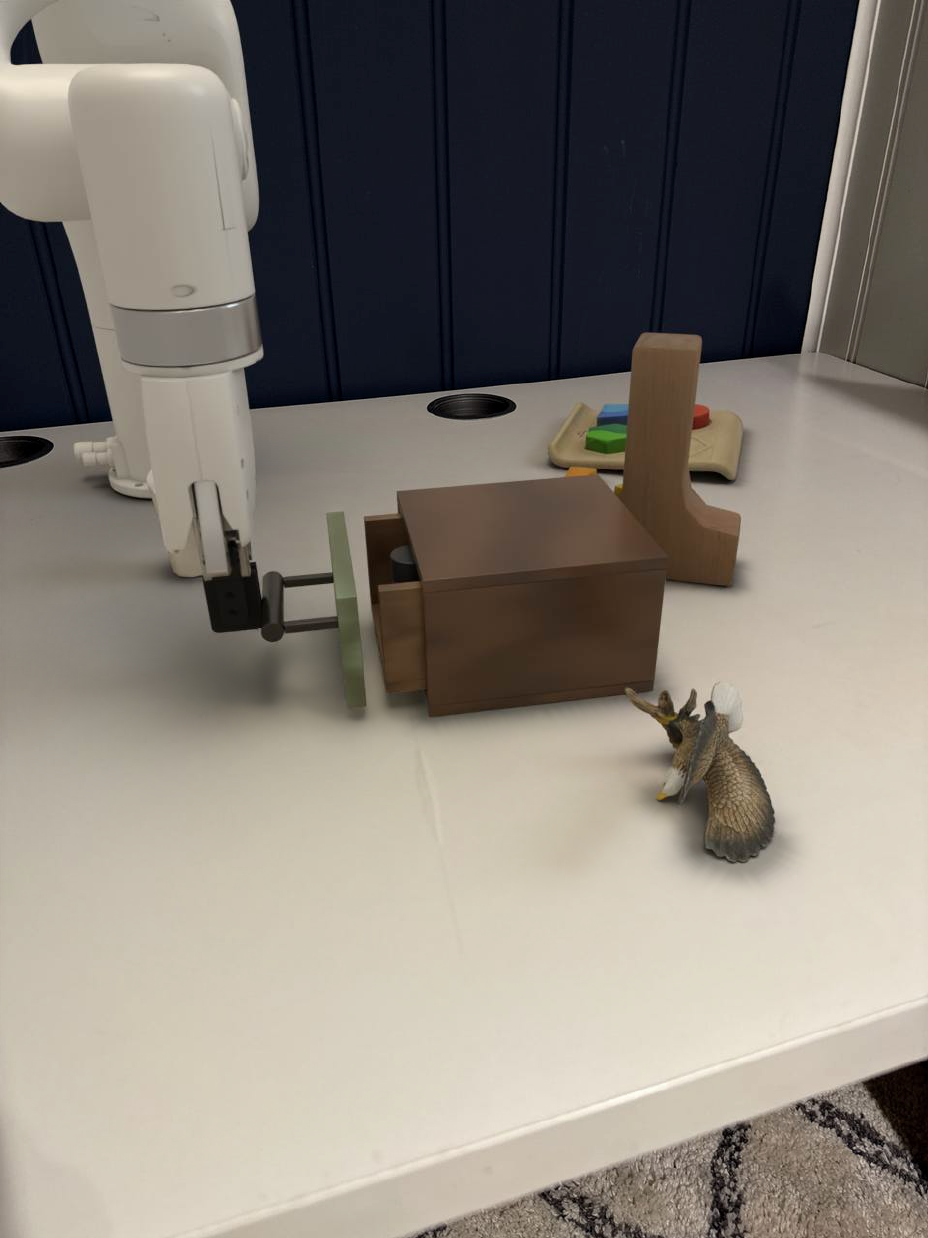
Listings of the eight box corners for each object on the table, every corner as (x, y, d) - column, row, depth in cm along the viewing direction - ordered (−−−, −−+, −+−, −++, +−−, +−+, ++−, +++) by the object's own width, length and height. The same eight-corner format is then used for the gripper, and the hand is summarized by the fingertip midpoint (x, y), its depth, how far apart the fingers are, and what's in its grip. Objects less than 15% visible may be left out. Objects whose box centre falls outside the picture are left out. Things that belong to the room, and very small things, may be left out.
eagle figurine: (586, 746, 51) (647, 833, 43) (653, 640, 50) (729, 708, 41) (689, 793, 53) (766, 884, 45) (755, 694, 52) (847, 768, 44)
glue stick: (397, 646, 59) (392, 564, 56) (393, 625, 61) (387, 546, 58) (438, 641, 59) (435, 560, 56) (432, 621, 62) (429, 542, 59)
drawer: (269, 718, 54) (251, 606, 50) (271, 617, 65) (256, 518, 61) (560, 684, 57) (565, 575, 53) (516, 592, 67) (517, 495, 63)
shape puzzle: (578, 416, 106) (579, 387, 105) (743, 429, 101) (747, 399, 100) (525, 496, 86) (525, 462, 84) (729, 517, 80) (734, 482, 79)
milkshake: (217, 584, 71) (196, 465, 66) (155, 579, 72) (129, 461, 67) (240, 559, 75) (222, 444, 70) (181, 554, 76) (159, 441, 71)
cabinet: (429, 717, 56) (423, 580, 51) (403, 610, 67) (396, 490, 62) (653, 690, 58) (668, 556, 53) (591, 591, 69) (598, 473, 64)
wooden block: (734, 562, 73) (768, 336, 64) (731, 588, 69) (767, 352, 60) (623, 550, 75) (640, 330, 66) (615, 574, 72) (632, 345, 62)
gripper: (137, 308, 54) (189, 577, 63) (91, 373, 41) (165, 697, 51) (263, 302, 55) (296, 567, 64) (256, 363, 42) (299, 683, 52)
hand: (238, 624), depth 58 cm, fingers closed
